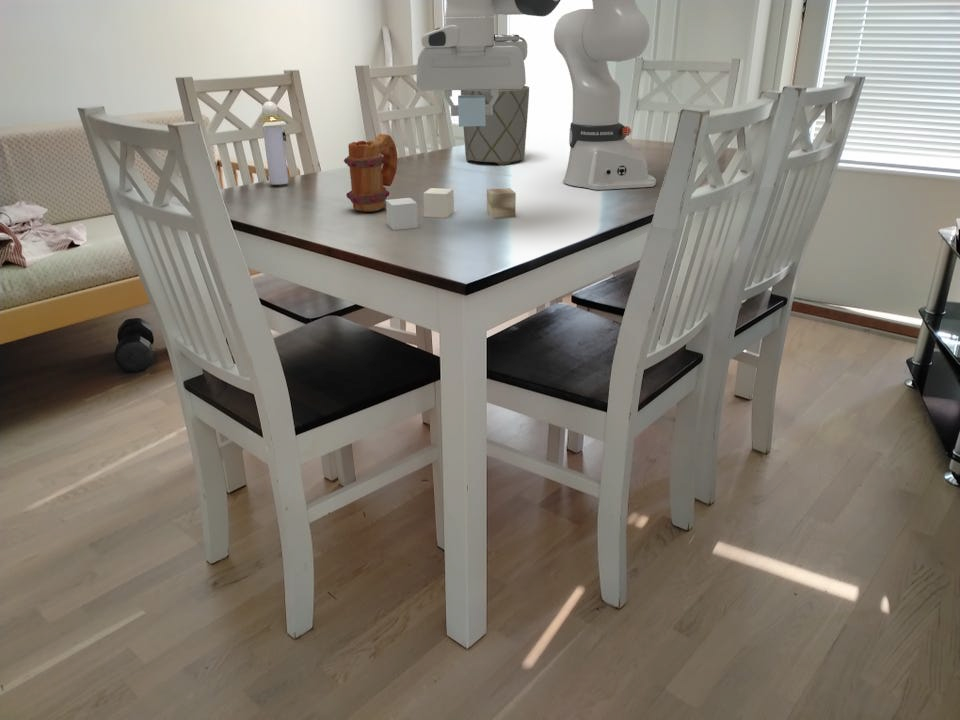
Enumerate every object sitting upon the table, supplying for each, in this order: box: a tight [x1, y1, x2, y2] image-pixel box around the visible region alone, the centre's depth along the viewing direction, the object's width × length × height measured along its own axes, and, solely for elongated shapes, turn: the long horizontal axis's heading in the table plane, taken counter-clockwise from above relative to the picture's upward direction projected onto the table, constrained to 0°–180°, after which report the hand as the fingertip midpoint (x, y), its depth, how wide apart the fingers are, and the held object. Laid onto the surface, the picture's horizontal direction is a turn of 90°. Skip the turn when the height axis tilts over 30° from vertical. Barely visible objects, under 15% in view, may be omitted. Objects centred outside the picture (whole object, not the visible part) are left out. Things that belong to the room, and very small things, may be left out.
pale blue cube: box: [457, 94, 486, 128], centre depth 138 cm, size 5×5×5 cm
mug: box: [343, 133, 398, 213], centre depth 157 cm, size 15×8×15 cm, turn 148°
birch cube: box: [486, 187, 517, 219], centre depth 153 cm, size 5×5×5 cm
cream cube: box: [422, 187, 455, 219], centre depth 153 cm, size 5×5×5 cm
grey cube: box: [385, 197, 419, 231], centre depth 145 cm, size 5×5×5 cm
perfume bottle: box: [258, 100, 290, 185], centre depth 179 cm, size 6×6×20 cm
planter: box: [460, 85, 530, 166], centre depth 207 cm, size 19×19×20 cm
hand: (471, 115), depth 138 cm, fingers closed on pale blue cube, 5 cm apart
